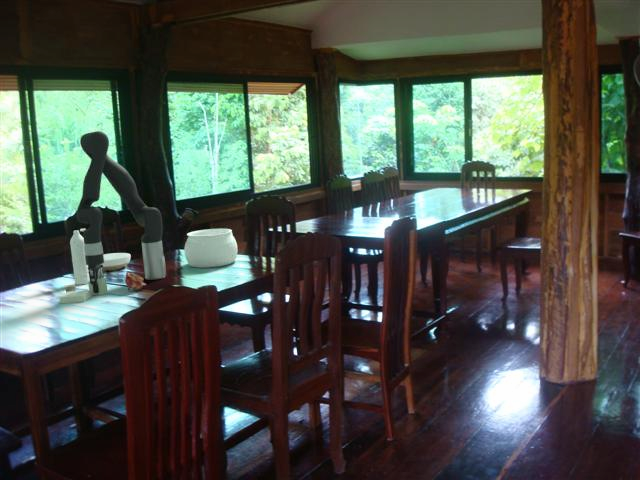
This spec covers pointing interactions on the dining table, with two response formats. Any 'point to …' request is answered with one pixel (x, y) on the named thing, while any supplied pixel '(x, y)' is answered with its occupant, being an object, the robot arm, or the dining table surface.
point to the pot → (210, 248)
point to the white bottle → (79, 258)
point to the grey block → (70, 288)
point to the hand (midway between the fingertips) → (98, 290)
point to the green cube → (101, 285)
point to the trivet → (75, 296)
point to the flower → (133, 281)
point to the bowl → (115, 261)
